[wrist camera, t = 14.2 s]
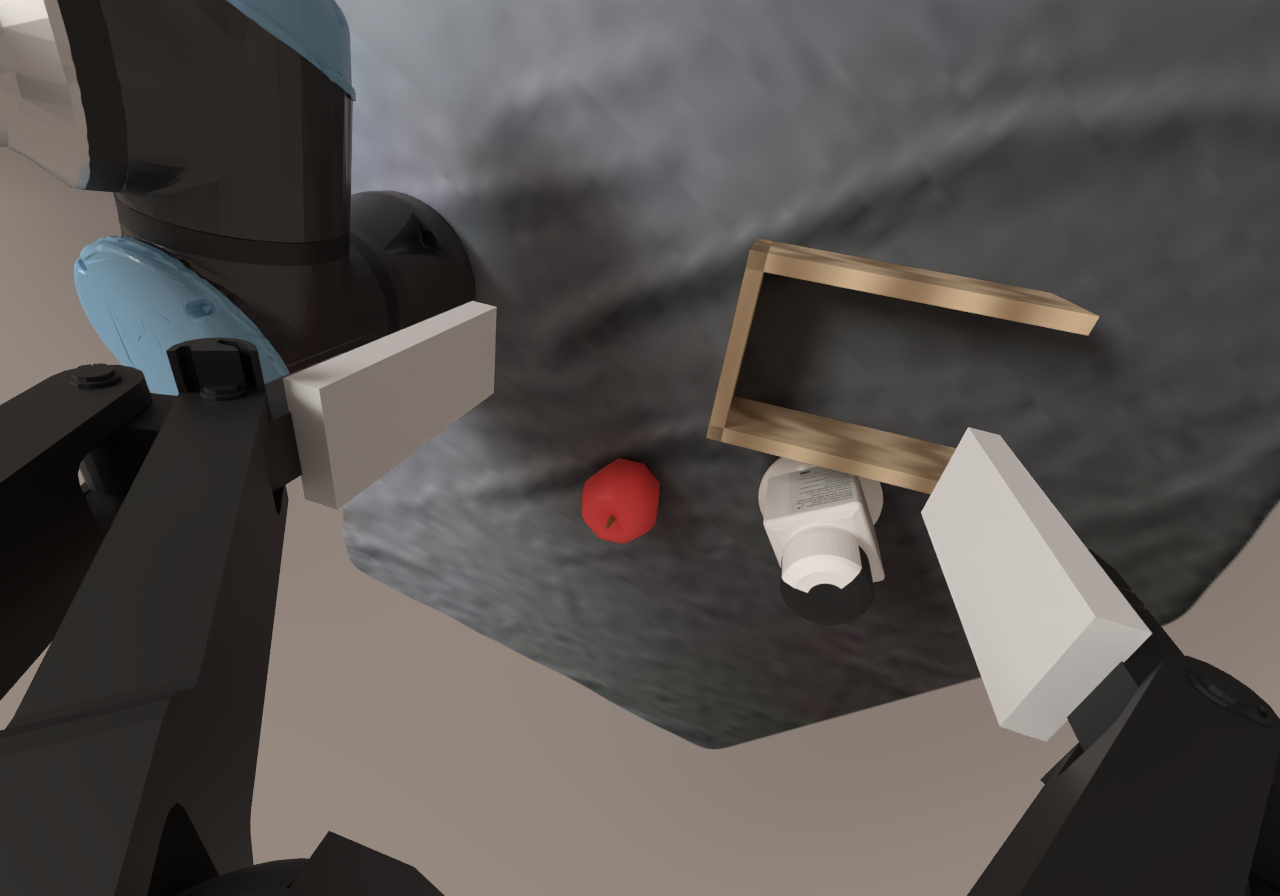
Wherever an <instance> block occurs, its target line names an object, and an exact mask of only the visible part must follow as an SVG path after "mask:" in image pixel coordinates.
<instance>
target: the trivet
mask: <svg viewBox="0 0 1280 896" xmlns="http://www.w3.org/2000/svg"><path fill="white" fill-rule="evenodd" d="M815 466H816V465H812V464H808V463H804V462H800V461H796V460H792V459H788V458H784V457H779V458H778V459H777V460H775V461H774V462H773V463H772V464H771V465H770V466H769V468H768V469H767V470H766V472H765V474H764V475H763V478H762V480H761V483H760V487H759V497H758V499H759V506H760V510H761V513H762V515H763V517H764V512H765V502H766V493H767V483H768V479H769V478H770V477H774V476H778V475H782V474H786V473H790V472H795V471H799V470H803V469H807V468H811V467H815ZM859 479H860V482H861V486H862V489H863V492H864V495H865V498H866V502H867V505H868V508H869V511H870V514H871V518H872V521H873V524H875V523H876V521H877V520H878V518H879V516H880V513H881V510H882V505H883V493H882V488H881V484H880V481H876V480H872V479H868V478H864V477H860V476H859Z"/></svg>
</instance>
